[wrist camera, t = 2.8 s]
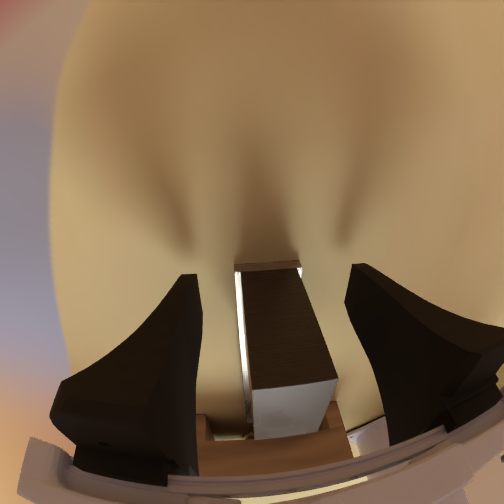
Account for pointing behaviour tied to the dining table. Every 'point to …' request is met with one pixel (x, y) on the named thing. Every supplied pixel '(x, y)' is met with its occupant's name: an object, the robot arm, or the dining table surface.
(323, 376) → the brown-topped white block
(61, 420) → the robot arm
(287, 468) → the walnut u-shaped block
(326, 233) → the dining table surface
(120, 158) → the dining table surface
